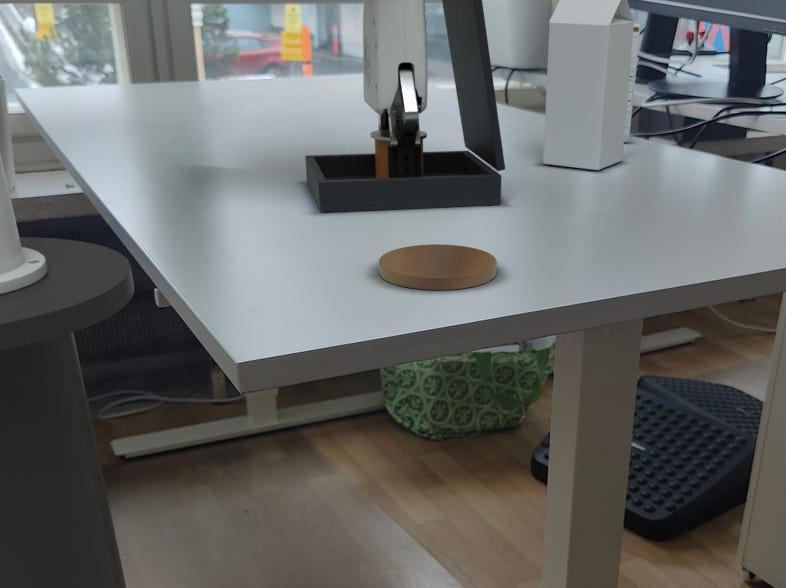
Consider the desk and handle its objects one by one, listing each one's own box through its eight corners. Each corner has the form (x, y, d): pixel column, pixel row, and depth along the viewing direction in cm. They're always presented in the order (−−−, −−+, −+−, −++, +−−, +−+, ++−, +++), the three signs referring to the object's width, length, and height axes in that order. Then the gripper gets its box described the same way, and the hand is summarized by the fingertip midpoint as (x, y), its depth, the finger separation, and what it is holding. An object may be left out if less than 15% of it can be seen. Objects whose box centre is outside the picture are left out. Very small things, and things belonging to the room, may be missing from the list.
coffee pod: (376, 192, 94) (374, 138, 92) (368, 180, 99) (366, 129, 96) (432, 190, 95) (432, 137, 93) (421, 178, 100) (421, 128, 97)
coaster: (390, 293, 69) (389, 280, 68) (371, 259, 76) (370, 247, 76) (510, 286, 71) (510, 272, 70) (480, 253, 78) (480, 241, 78)
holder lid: (466, -46, 82) (475, -48, 82) (434, -47, 94) (442, -48, 94) (497, 171, 92) (505, 169, 92) (464, 146, 103) (472, 145, 103)
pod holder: (320, 212, 90) (318, 182, 88) (307, 183, 101) (305, 155, 100) (500, 204, 94) (501, 175, 92) (468, 177, 105) (468, 150, 104)
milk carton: (598, 171, 109) (612, -19, 99) (542, 165, 112) (550, -20, 102) (622, 162, 114) (638, -20, 104) (568, 156, 117) (578, -21, 107)
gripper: (342, -24, 94) (352, 167, 103) (367, -20, 80) (376, 202, 89) (416, -24, 96) (420, 165, 105) (454, -19, 81) (454, 199, 91)
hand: (399, 180), depth 97 cm, fingers closed on coffee pod, 5 cm apart
